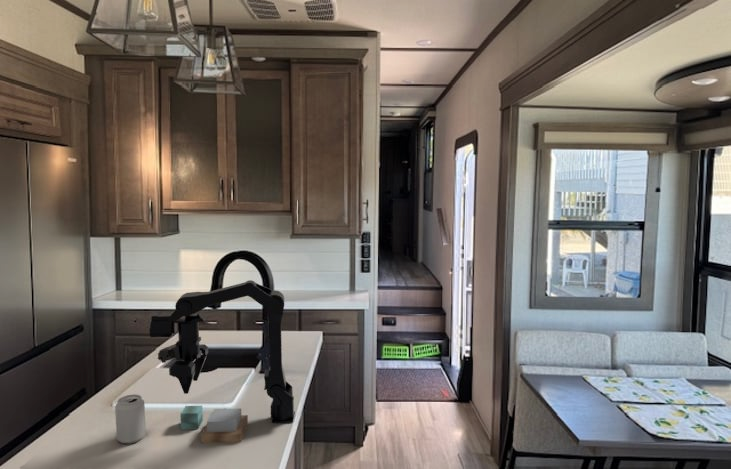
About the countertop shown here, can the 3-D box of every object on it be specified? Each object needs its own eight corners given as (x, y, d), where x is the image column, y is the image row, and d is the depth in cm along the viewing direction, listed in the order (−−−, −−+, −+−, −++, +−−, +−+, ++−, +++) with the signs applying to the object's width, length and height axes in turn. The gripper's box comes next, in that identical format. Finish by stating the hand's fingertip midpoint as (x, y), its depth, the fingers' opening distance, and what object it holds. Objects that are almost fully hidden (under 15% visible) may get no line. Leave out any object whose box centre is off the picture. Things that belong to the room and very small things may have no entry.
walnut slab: (247, 424, 152) (247, 415, 151) (240, 443, 141) (240, 433, 140) (211, 425, 151) (210, 416, 151) (201, 444, 140) (200, 434, 140)
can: (134, 446, 138) (132, 405, 137) (110, 443, 139) (108, 402, 138) (151, 433, 145) (149, 393, 144) (128, 430, 147) (126, 391, 145)
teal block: (202, 421, 153) (202, 405, 152) (198, 429, 148) (197, 413, 147) (186, 421, 152) (185, 405, 152) (181, 429, 147) (180, 413, 147)
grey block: (241, 417, 149) (241, 408, 149) (235, 431, 141) (235, 421, 141) (214, 418, 149) (214, 408, 149) (207, 432, 141) (206, 422, 141)
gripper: (171, 327, 156) (173, 375, 158) (148, 347, 137) (151, 401, 139) (207, 326, 157) (209, 374, 158) (189, 346, 138) (192, 400, 140)
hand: (190, 386), depth 149 cm, fingers open, 9 cm apart
